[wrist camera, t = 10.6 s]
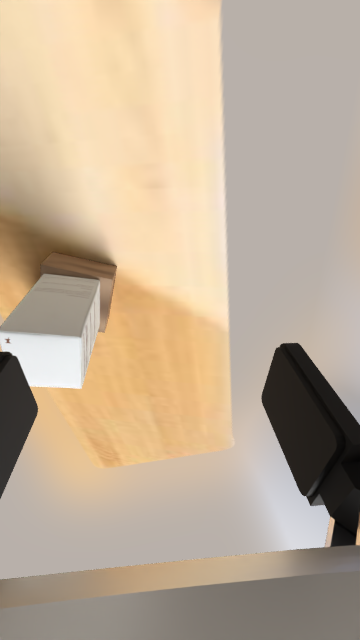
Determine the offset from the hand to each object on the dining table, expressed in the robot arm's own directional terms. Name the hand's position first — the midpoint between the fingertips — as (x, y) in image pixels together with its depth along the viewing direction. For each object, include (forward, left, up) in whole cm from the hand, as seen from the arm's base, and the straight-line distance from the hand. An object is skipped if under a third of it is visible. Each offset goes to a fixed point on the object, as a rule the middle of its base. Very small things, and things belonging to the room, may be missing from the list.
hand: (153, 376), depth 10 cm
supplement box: (+11, -11, -26) cm, 30 cm away
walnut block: (+11, -11, -31) cm, 34 cm away
